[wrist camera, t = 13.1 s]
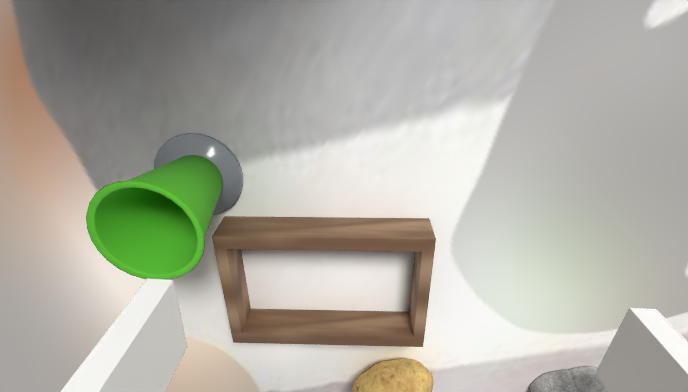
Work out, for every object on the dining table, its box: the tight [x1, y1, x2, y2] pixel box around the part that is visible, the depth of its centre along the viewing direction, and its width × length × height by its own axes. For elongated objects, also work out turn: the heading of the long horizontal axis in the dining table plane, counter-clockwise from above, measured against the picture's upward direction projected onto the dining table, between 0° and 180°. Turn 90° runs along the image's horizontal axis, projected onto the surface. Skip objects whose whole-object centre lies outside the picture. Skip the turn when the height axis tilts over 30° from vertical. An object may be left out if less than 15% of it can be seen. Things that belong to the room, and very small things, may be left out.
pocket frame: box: [212, 217, 436, 347], centre depth 43 cm, size 15×22×4 cm
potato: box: [352, 359, 433, 392], centre depth 49 cm, size 7×11×6 cm, turn 113°
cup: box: [86, 155, 223, 280], centre depth 34 cm, size 9×9×11 cm
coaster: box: [154, 134, 243, 215], centre depth 39 cm, size 9×9×1 cm
